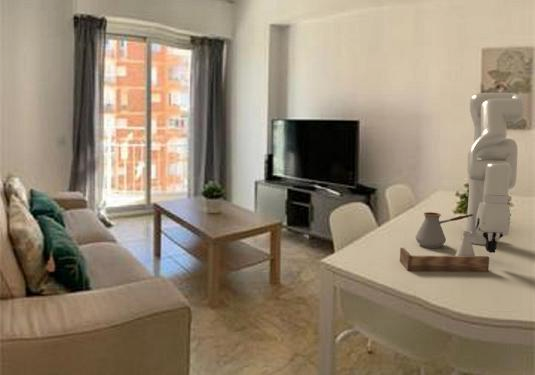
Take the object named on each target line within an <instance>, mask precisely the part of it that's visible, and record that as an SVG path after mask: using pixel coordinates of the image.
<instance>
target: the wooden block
mask: <svg viewBox="0 0 535 375" xmlns="http://www.w3.org/2000/svg"><path fill="white" fill-rule="evenodd" d="M399 249H400V250H399V262H400V264H401V265H402V266H403V267H404V268H405V269H406V271H408V272H468V273H469V272H472V273H473V272H477V273H478V272H479V273H482V272H484V273H488V272H489V265H490V257H489V256H487V255H486V256H485V255H483V256H481V255H475V256H455V255H411V254H410V252H409V251H408V250H407V249H406V248H405V247H400V248H399Z"/></svg>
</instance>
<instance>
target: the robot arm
mask: <svg viewBox="0 0 535 375" xmlns="http://www.w3.org/2000/svg"><path fill="white" fill-rule="evenodd" d="M469 111H470V116H471V120H472V122H473V127H474V131H473V132H474V133H473V143H472V144H471V146H470V148H469V150H468V153H467V168H466V169H467V179H468V201H467V211H466V213H467V214H466V215H469V214H473V215H474V216H473V218H472V216H471V217H470V216H469V217H468V218H466V224H465V225H466V227H465V231H470V232H472V235H471V243H472V245H473V244H474V245H480V246H481V245H483V246H484V245H485V251H487V252H488V253H490V254H491V253H492V254H493V253H494V254H495V253H496V250H497V242H499V240H500V239H501V238H503V237H505V236H509V234H510V232H509V231H510V228H511V209H510V204H509V203H508V202H509V201H512V196H511V195H509V190H512V189H513V188H515V186H516V183H517V172H518V170H517V169H518V145H517V143H516V141H515V140H514V139H512V138H507V134H508V132H507V122H521V121H522V119H523V117H524V114H525V104H524V101H523V100H522V98H521V96H520V95H519V94H517V93H516V92H515V93H514V92H482V93H475V94H474V95H472V96H471V98H470V100H469ZM474 217H475V219H474ZM460 239H461V240H462V239H463V234H462V235H461V236H460Z"/></svg>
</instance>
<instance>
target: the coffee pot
mask: <svg viewBox="0 0 535 375" xmlns="http://www.w3.org/2000/svg"><path fill="white" fill-rule="evenodd" d="M423 215H424V218H425V219H424V221H422V224H421V226H420V227H419V229H418V230H417V234H416V235H415V241H417V243H418V244H419V245H420V246H421V247H423V248H427V247H428V248H429V249H439V248H440V247H442V246H443V245H445V243H446V242H447V239H446V235H445V233H444V231H443V227H442V226H441V225H442V224H445V223H448V222H453V221H454V222H455V221H459V220H463V219H467V218H468V217H469V216H470V217H471V216H472V218H473V216H474V215H473V214H469V215H467V214H465V215H460V216H456V217H452V218H450V219H445V220H440V217H441V216H442V215H441V213H439V212H432V211H429V212H428V211H427V212H424V213H423ZM474 219H475V217H474Z"/></svg>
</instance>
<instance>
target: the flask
mask: <svg viewBox="0 0 535 375" xmlns="http://www.w3.org/2000/svg"><path fill="white" fill-rule="evenodd" d="M461 234H462V235H463V239H461V243H460V245H459V247H458V249H457V251H456V253H455V255H454V256H476V255H475V251H474V248H473V244H472V243H471V235H472V232H470V231H466V230H463V231H462V233H461Z"/></svg>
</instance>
